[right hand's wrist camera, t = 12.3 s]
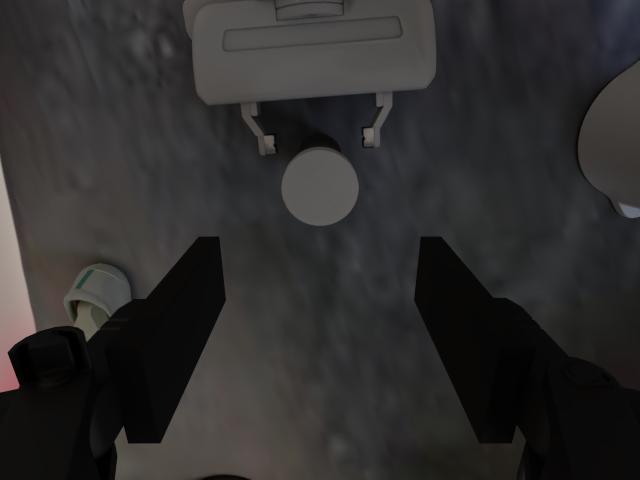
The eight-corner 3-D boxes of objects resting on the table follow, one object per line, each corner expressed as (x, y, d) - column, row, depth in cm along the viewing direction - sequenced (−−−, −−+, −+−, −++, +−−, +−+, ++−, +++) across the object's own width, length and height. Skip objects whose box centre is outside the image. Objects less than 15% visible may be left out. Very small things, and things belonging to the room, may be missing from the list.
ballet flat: (117, 413, 54) (85, 463, 46) (66, 259, 45) (17, 292, 38) (175, 411, 54) (152, 461, 46) (135, 256, 45) (99, 288, 37)
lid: (356, 217, 29) (358, 224, 27) (285, 219, 29) (283, 226, 27) (356, 145, 27) (358, 149, 25) (281, 147, 27) (278, 151, 25)
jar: (341, 176, 41) (351, 217, 28) (299, 177, 42) (289, 219, 28) (340, 133, 40) (352, 154, 26) (297, 134, 40) (285, 156, 26)
